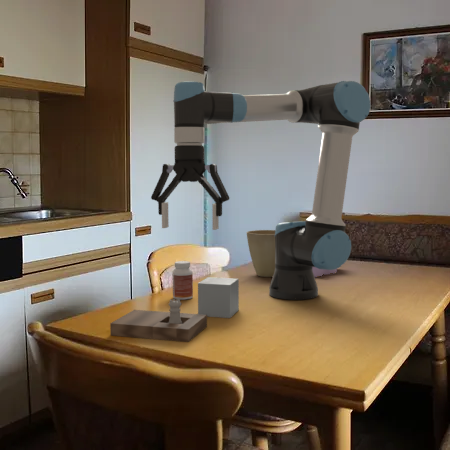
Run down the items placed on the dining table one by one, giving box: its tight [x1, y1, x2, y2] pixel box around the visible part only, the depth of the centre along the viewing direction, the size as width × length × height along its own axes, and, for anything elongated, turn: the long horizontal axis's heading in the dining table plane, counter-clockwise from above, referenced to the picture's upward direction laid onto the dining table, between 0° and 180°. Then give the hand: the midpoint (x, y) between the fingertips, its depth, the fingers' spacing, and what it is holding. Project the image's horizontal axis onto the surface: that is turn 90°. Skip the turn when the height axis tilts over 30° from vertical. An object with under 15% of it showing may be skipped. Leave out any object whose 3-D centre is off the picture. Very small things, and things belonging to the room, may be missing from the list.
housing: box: [197, 276, 240, 319], centre depth 172 cm, size 9×9×9 cm
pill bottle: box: [172, 260, 194, 301], centre depth 191 cm, size 6×6×11 cm
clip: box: [313, 267, 338, 278], centre depth 233 cm, size 20×12×7 cm, turn 150°
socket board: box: [109, 309, 208, 343], centre depth 155 cm, size 20×14×3 cm
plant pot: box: [246, 229, 275, 278], centre depth 227 cm, size 15×15×16 cm
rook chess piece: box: [167, 298, 182, 324], centre depth 153 cm, size 4×4×8 cm
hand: (190, 228), depth 159 cm, fingers open, 13 cm apart
